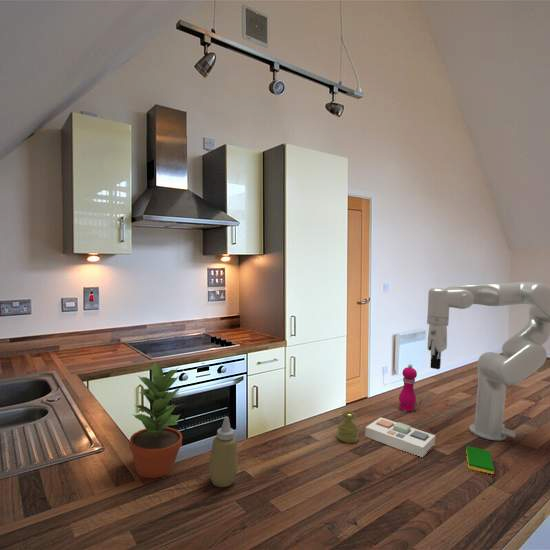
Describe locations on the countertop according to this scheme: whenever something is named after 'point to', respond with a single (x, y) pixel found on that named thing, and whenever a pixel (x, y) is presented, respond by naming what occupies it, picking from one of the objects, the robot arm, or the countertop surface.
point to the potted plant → (156, 428)
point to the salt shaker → (348, 428)
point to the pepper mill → (408, 389)
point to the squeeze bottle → (224, 456)
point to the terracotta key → (385, 423)
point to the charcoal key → (419, 435)
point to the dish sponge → (479, 460)
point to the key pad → (399, 438)
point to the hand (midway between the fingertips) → (435, 368)
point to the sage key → (402, 428)
